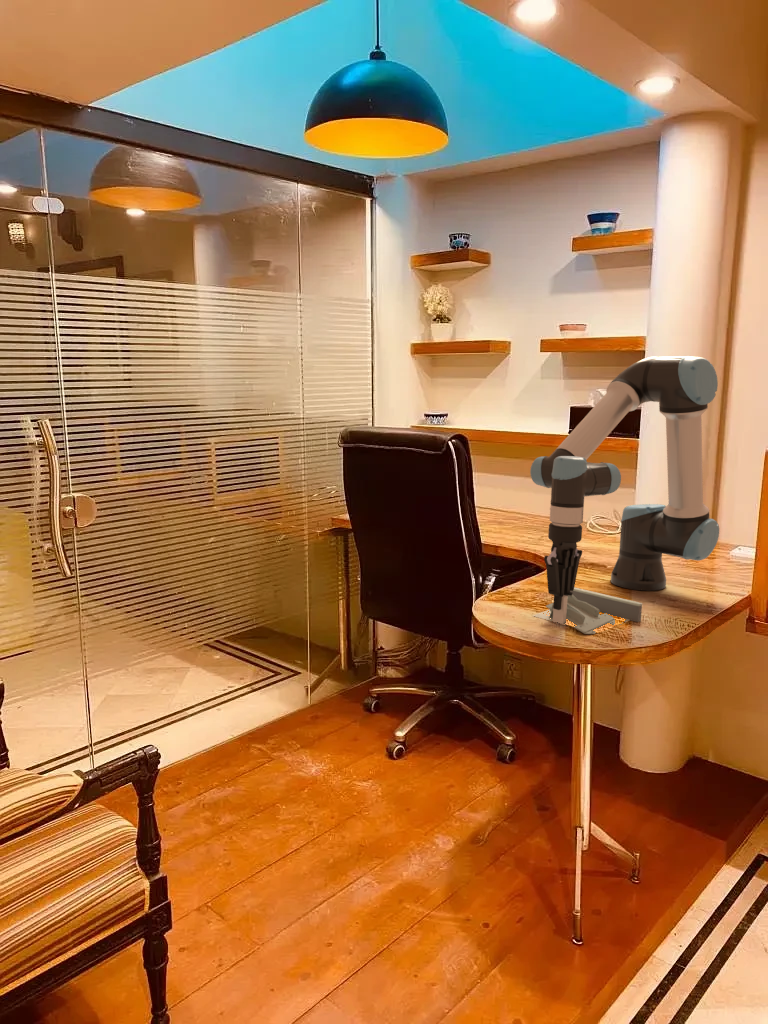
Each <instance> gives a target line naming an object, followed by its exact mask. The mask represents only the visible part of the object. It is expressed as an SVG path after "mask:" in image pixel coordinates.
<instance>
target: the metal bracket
mask: <svg viewBox="0 0 768 1024" xmlns="http://www.w3.org/2000/svg"><path fill="white" fill-rule="evenodd" d="M571 597H572V598H571ZM553 605H554V601H553V602H552V603H549V604H546V605H545V608H547V609H548V610H550V611H551V613H550V616H549V617H553ZM599 612H600V610H599V609H598V608H596V607H594V606H592V605H590V604H589V603H587V602H583V601H579V600H577V599H576V597H575V596H574V595H571V596H570V595H569V597H568V599H567V613H566V619H568V620H569V621H571V622H573V623H574V624H576V625H577V626H575V627H573V628H574V629H575V630H577V631H579V632H581V633H583V634H584V635H595V633H596V632H595V631H593V630H594V629H596V628H599V627H601V626H603V625H605V624H607V623H610V624H612V625H614V624H615V619H614V618H613V617H612V616H610V615H608V614H606V613H604V614H601V615H600V614H599Z"/></svg>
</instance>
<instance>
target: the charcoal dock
mask: <svg viewBox="0 0 768 1024" xmlns="http://www.w3.org/2000/svg"><path fill="white" fill-rule="evenodd" d="M570 592H572V593H573V594H572V595H574V596H575V597H576V599H577V600H579V601H583V602H587V603H589V604H590V605H592V606H594V607H596V608H598V609H599V610H600V612H602V613H607V614H610V615H613V616H617V617H621V618H624V619H626V620H625V621H624V622H625V623H627V622H630V621H632V622H636V623H640V622H641V621H642V611H643V605H644V604H643V603H642V602H639V601H635V600H630V599H626V598H621V597H619V596H613V595H609V594H604V593H601V592H596V591H592V590H587V589H585V588H583V589H582V588H579V587H575V586H574V590H573V591H570ZM568 597H569V595H568ZM571 598H572V597H571ZM548 611H549V612H548ZM547 612H548V613H547ZM543 613H544V614H543ZM549 613H551V611H550V609H547V610H545V611H541V612H539V613H536V614H533V615H532V617H534V616H535V617H534V618H537V617H538V618H537V619H541V618H542V620H545V619H546V621H548V620H550V621H549V622H552V621H553V617H549V616H548V615H550V614H549ZM546 614H547V616H546ZM550 618H551V619H550ZM553 623H555V622H554V621H553ZM622 623H623V622H622ZM563 624H565V623H563ZM563 624H561V623H560V625H563ZM623 624H624V623H623ZM564 626H566V624H565V625H564ZM574 626H575V625H574Z"/></svg>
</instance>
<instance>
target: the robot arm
mask: <svg viewBox="0 0 768 1024" xmlns="http://www.w3.org/2000/svg"><path fill="white" fill-rule="evenodd" d="M718 382H719V381H718V375H717V372H716V369H715V367H714V365H713V364H712V363H711V362H710V360H708V359H707V358H704V357H700V356H691V355H686V356H685V355H684V356H681V355H679V356H649V357H644V358H643V359H641V360H637V362H634V363H632V364H631V365H629V366H628V367H626V368H625V369H624V370H622V372H620V373H619V374H618V375H616V376H615V378H614V379H613V380H611V381H610V383H609V384H608V385H607V387H606V389H605V390H606V393H605V394H604V395H603V396H602V397H601V399H600V400H599V401H598V402H597V403H596V404H595V405H594V406H593V407H592V409H591V410H589V412H588V413H587V414H586V415H585V416H584V418H583V419H582V420H581V421H580V422H579V423H578V424H577V425H576V426H575V428H574V429H572V431H571V432H570V433H569V434H568V436H567V437H565V439H564V440H563V441H562V442H561V443H560V444H559V445H558V447H556V449H554V451H553V452H552V453H551V454H550V455H549V456H546V455H545V456H538V457H536V458H535V459H534V460H533V462H532V463H531V466H530V470H529V472H530V473H529V474H530V479H531V480H532V482H533V483H534V484H535V485H537V486H540V487H544V488H547V489H550V490H551V491H550V492H551V493H550V507H549V522H550V523H549V525H548V533H547V534H548V535H547V536H548V539H549V540H550V541H551V542H552V543H551V544H552V545H551V548H550V551H551V552H550V554H549V555H544V558H543V560H544V564H545V566H546V579H547V592H548V594H549V595H552V596H553V602H554V605H553V621H554V622H553V623H555V622H558V623H557V624H559V623H562V624H561V625H563V623H566V613H567V599H568V595H570V596H571V595H572V594H573V593H572V592H570V591H573V590H574V587H575V585H576V581H577V580H576V579H577V576H578V571H579V565H580V560H581V557H582V554H583V550H581V549H578V545H577V543H579V542H581V541H582V537H583V535H582V534H583V525H581V524H583V522H584V505H585V497H593V496H606V495H609V494H612V493H615V492H616V491H617V490H618V489H619V487H620V485H621V481H622V473H621V472H620V470H619V468H618V466H617V465H615V464H614V463H610V462H604V461H602V462H600V463H599V462H588V461H587V460H588V459H589V457H590V456H592V454H593V453H594V452H595V451H596V450H597V448H599V446H601V444H602V443H603V442H604V440H606V438H607V437H608V436H609V435H610V434H611V432H612V431H614V429H615V428H616V427H617V426H618V424H619V423H620V422H621V421H622V420H623V419H624V418H625V416H626V415H628V413H629V412H633V411H635V410H637V408H639V406H641V405H642V404H645V403H649V402H654V403H659V404H658V405H659V406H658V407H659V410H658V411H659V413H660V414H662V415H663V416H664V417H665V427H666V429H665V431H666V433H665V434H666V462H667V490H668V491H667V492H668V493H667V494H668V499H667V500H668V503H667V505H664V504H659V503H657V504H656V503H652V504H651V503H647V504H646V503H645V504H643V503H642V504H632V505H627V506H626V507H624V508H623V510H622V515H621V519H620V523H621V525H620V526H621V527H620V535H619V536H620V539H619V549H618V551H619V552H618V557H617V559H616V563H615V564H614V567H613V568H612V572H611V574H610V583H612V584H613V585H615V586H616V587H620V588H625V589H628V590H635V591H645V592H646V591H648V592H649V591H660V590H664V589H665V588H666V586H667V576H666V573H665V568H664V564H663V560H662V559H663V554H664V555H669V556H671V557H677V558H681V559H684V560H687V561H688V560H692V561H703V560H705V559H707V558H708V557H709V556H710V555H711V553H712V552H713V551H714V549H715V548H716V546H717V544H718V541H719V537H720V526H719V523H718V521H717V520H715V519H714V518H710V508H709V507H708V506H707V505H706V504H704V493H703V492H704V489H703V488H704V487H703V485H704V484H703V482H704V481H703V480H704V479H703V433H702V431H703V430H702V429H703V427H702V425H703V421H702V416H703V414H705V412H706V411H707V410H708V409H709V405H708V404H710V403H712V402H713V400H714V399H715V397H716V392H717V391H718Z"/></svg>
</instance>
